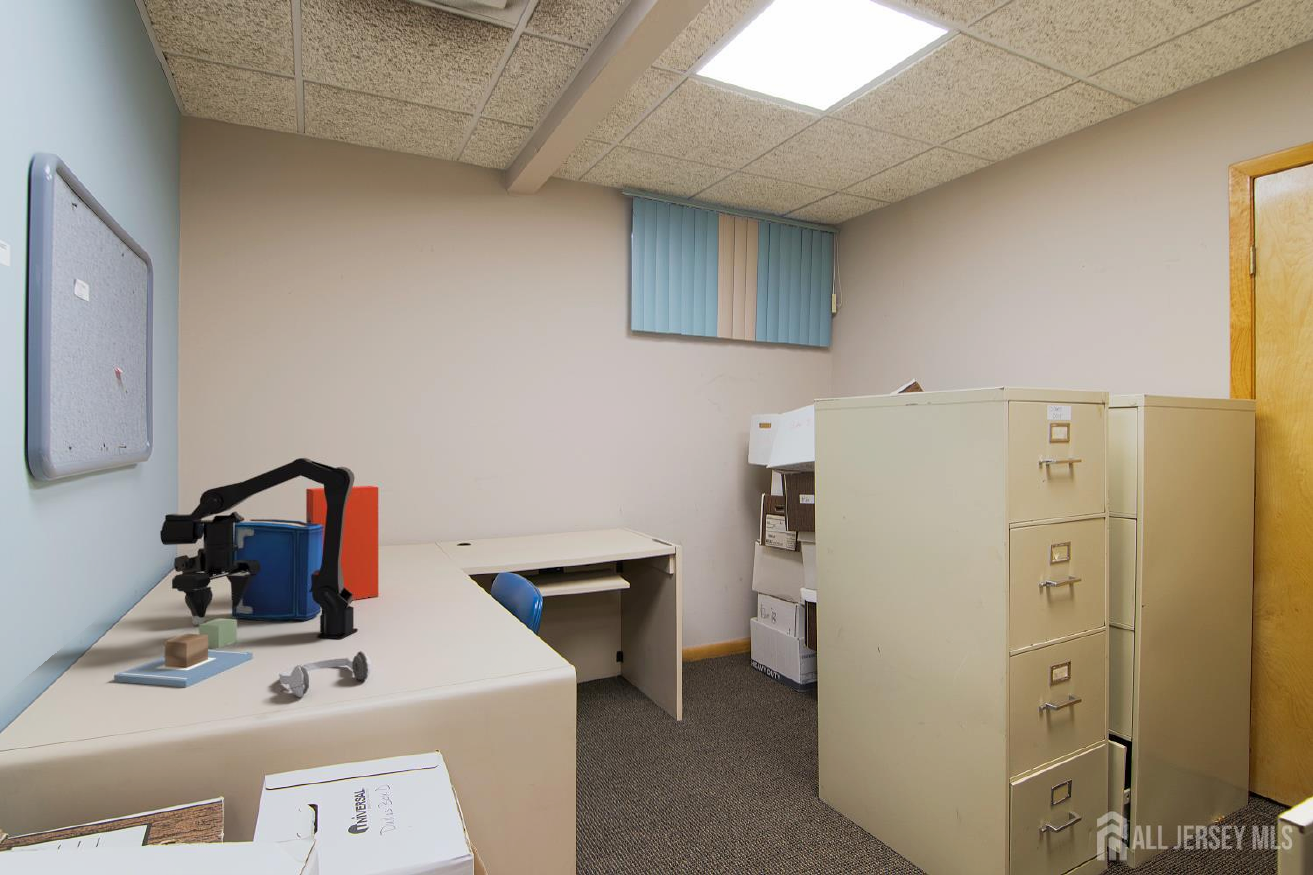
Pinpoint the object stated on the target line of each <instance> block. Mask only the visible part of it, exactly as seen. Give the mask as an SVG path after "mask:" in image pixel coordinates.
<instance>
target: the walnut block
mask: <svg viewBox="0 0 1313 875" xmlns="http://www.w3.org/2000/svg"><path fill="white" fill-rule="evenodd" d="M208 650H209V647H208V635H199V633H198V634H196V633H185V634H183V635H179V636H177V637H173V638H170V639H167V640H165V641H164V657H165V666H167V667H180V668H188V667H190V666H193V665H195V664H198V663H200V662H203V661H205V660H208Z"/></svg>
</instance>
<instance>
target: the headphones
mask: <svg viewBox="0 0 1313 875" xmlns="http://www.w3.org/2000/svg"><path fill="white" fill-rule="evenodd" d="M344 666H345V667H346V666H347V667H348V668H350V669H351V670H352V672H353V676H354V677H355V679H358V680H359V681H361V682H365V681H367V679H368V678H369V676H370V674H371V670H372V661H371V659H370V658H369V657H368V655H367V654H366V653H365V652H363V651H362V650H360V651H357V654H356V655H355V656H354V657H353V658H349V657H343V658H335V659H334V658H333V659H328V660H321V661H315V662H311V663H306V664H302V665H300V664H299V665H298V664H297V665H296V666H295V667H292V668H289V669H286V670H285V671H282V672H281V673H279V674H278V675H279V682H280V683H281V684H282V685H288V687H289V688H288V690H290V691H291V692H292V693H293V695H294V696H296V697H298V698H303V697H304V695H305V694H306V693H307V692H308V691H309V689H310V675H309V673H308V672H310V671H311V672H312V671H315V670H319V669H330V668H337V667H344ZM286 690H287V688H285V689H281V690H280V691H279V692H280V693H288V691H286Z"/></svg>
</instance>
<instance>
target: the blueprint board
mask: <svg viewBox="0 0 1313 875" xmlns="http://www.w3.org/2000/svg"><path fill="white" fill-rule="evenodd" d="M253 658H254V656H253V652H248V651H247V652H246V651H245V652H244V651H233V650H220V649H208V660H205V661H203V662H200V663H198V664H195V665H193V666H190V667H188V668H180V667H167V666H165V656H162V657H160V658H159V657H158V658H157V659H153V660H152V661H149V662H146V663H144V664H141V665H138V666H135V667H132V668H130V669H127V670H123V671H122V672H119V673H116V674H114V675H113V681H114V682H117V683H128V682H130V684H140V685H141V684H144V685H151V686H152V685H154V686H165V687H176V688H177V687H178V688H187V687H191V686H192V685H194V684H197V683H200V682H202V681H204V680H207V679H208V678H211V677H213V676H215V675H218V674H221V673H222V672H224V671H227V670H230V669H231V668H234V667H236V666H238V665H240V664H242V663H245V662H247V661H250V660H252V659H253Z"/></svg>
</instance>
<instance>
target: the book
mask: <svg viewBox="0 0 1313 875" xmlns="http://www.w3.org/2000/svg"><path fill="white" fill-rule="evenodd" d="M234 546H238V550H237V551H234V561H237V560H258V562H259V563H260V564H261V572H258V573H254V574H257V575H256V577H254V578H253V580H252V581H251V583H250V585H249V586H248V588H247V590H246V592H245V593H244V595H243V597H242V599H241V601H240V603H239V605H238V606H237V607H234V606H233V605H232V604H231V617H232V618H239V619H246V620H248V619H249V620H254V621H255V620H256V621H273V622H275V621H277V622H284V621H290V620H298V621H306V620H310V619H314V618H315V617H317V615H319V614H320V613H322V609H321V606H320V605H319V604H317V603H316V602H315V601H314V600H313V598H312V592H313V591H312V592H309V591H310V589H311V586H312V582H311V575H312V574H313V573H314V572H315V571H316V570H320V568H321V564H322V550H323V526H322V525H320V524H307V523H306V522H303V521H300V520H290V519H289V520H288V519H276V518H275V519H274V518H273V519H272V518H271V519H270V518H269V519H264V518H263V519H260V518H259V519H255V518H253V519H250V520H244V521H242V522H239V523H234Z"/></svg>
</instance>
